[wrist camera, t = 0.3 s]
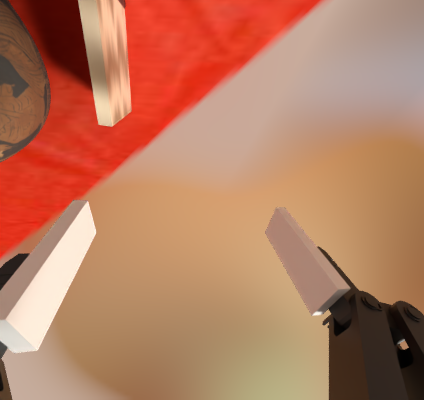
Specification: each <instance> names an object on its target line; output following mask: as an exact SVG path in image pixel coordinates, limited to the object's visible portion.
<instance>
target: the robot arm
mask: <svg viewBox="0 0 424 400" xmlns="http://www.w3.org/2000/svg"><path fill="white" fill-rule="evenodd" d="M95 234H96V230H95V226H94V222H93V218H92V214H91V211H90V207H89V203H88V201H87V200H73V201H72V203H71V204H70V205H69V206H68V207H67V209H66V210H65V211H64V212H63V214H62V215H61V216H60V217H59V219H58V220H57V221H56V222H55V224H54V225H53V226H52V227H51V228H50V230H49V231H48V232H47V234H46V235H45V236H44V237H43V238H42V240H41V241H40V242H39V243H38V245H37V246H36V247H35V248H34V250H33V251H32V252H31V253H30V254H18V255H16V256H15V257H14V258H12V259H10V260H9V261H8V262H6V263H5V264H4V265H3V266H2V267H1V268H0V400H12V396H11V392H10V388H9V383H8V379H7V375H6V370H5V366H4V362H3V361H2V359H1V358H2V356H3V355H4V353H5V351H6V350H7V348H8V349H10V350H11V351H12V352H13V353H20V352H28V351H36V350H38V348H39V346H40V344H41V342H42V340H43V338H44V336H45V334H46V332H47V330H48V328H49V326H50V324H51V322H52V320H53V318H54V316H55V314H56V312H57V310H58V308H59V306H60V304H61V302H62V300H63V298H64V296H65V294H66V292H67V290H68V288H69V286H70V284H71V282H72V280H73V278H74V276H75V274H76V272H77V270H78V268H79V266H80V264H81V262H82V260H83V258H84V256H85V254H86V252H87V250H88V248H89V246H90V244H91V242H92V240H93V238H94V236H95ZM265 234H266V235H267V237H268V239H269V241H270V242H271V244H272V246H273V248H274V250H275V251H276V253H277V255H278V257H279V258H280V260H281V262H282V264H283V265H284V267H285V269H286V271H287V273H288V274H289V276H290V278H291V280H292V281H293V283H294V285H295V287H296V289H297V290H298V292H299V294H300V296H301V297H302V299H303V301H304V303H305V305H306V306H307V308H308V310H309V312H310V313H311V315H320V314H324V312H326V311H327V310H328V309H329V311H330V312H331V315H330V316H328V317H327V318H326V319H325V320H324V321H323V325H325V324H327V323H328V322H329V325H328V328H329V400H424V315H423V314H422V313H421V312H420V311H419V310H418V309H416V308H415V307H413V306H412V305H410V304H408V303H406V302H403V301H398V302H396V303H394V304H393V305H389V304H385V303H381V302H379V301H378V300H377V299H376V298H375V297H373V296H372V295H370V294H369V293H367V292H364V291H359V290H358V289H357V288H356V287H355V285H354V284H353V283H352V282H351V281H350V279H349V278H348V277H347V276H346V275H345V274H344V272H343V271H342V270H341V269H340V268H339V267H338V266H337V264H336V263H335V262H334V261H333V259H332V258H331V257H330V256H329V255H328V254H327V252H325V251H324V250H323V249H321V248H320V247H317V246H316V245H315V244H314V243H313V241H312V240H311V239H310V238H309V237H308V235H307V234H306V233H305V232H304V230H303V229H302V228H301V227H300V226H299V224H298V223H297V222H296V221H295V219H294V218H293V217H292V216H291V215H290V213H289V212H288V211H287V210H286V208H281V207H276V209H275V211H274V214H273V216H272V218H271V220H270V222H269V225H268V227H267V229H266V231H265ZM403 341H406V343H407V345H408V346H409V348H407V349H405V350H403V349H402V347H401V346H400V344H399V343H401V342H403Z"/></svg>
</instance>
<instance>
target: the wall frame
mask: <svg viewBox="0 0 424 400" xmlns="http://www.w3.org/2000/svg"><path fill="white" fill-rule="evenodd" d="M78 4H79V10H80V16H81V22H82V28H83V34H84V40H85V46H86V52H87V58H88V64H89V70H90V76H91V82H92V88H93V94H94V100H95V106H96V112H97V118H98V124H99V125H104V126H113V125H115V124H116V123H117V122H119V121H120V120H121V119H122V118H124V117H125V116H126V115H127V114H129V113H130V112H131V111H132V110H131V96H130V81H129V66H128V52H127V37H126V23H125V0H78Z"/></svg>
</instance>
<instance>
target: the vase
mask: <svg viewBox="0 0 424 400" xmlns="http://www.w3.org/2000/svg"><path fill="white" fill-rule="evenodd" d="M50 99H51V95H50V84H49V79H48V75H47V71H46V68H45V65H44V62H43V60H42V57H41V55H40V53H39V51H38V48H37V46H36V44H35V42H34V40H33V38H32V37H31V35H30V33H29V31H28V30H27V28H26V26H25V25H24V23H23V21H22V20H21V18H20V17H19V15H18V14H17V12H16V11H15V9H14V8H13V7H12V5H11V4H10V2H9V1H8V0H0V162H2V161H4V160H6V159H8V158H10V157H11V156H13V155H14V154H16V153H17V152H19V151H20V150H22V149H23V148H24V147H25V146H27V145H28V144H29V143H30V142H31V141H32V140H33V139H34V138H35V137H36V136H37V134H38V133H39V131H40V130H41V129H42V127H43V125H44V123H45V121H46V119H47V116H48V112H49V108H50Z"/></svg>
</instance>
